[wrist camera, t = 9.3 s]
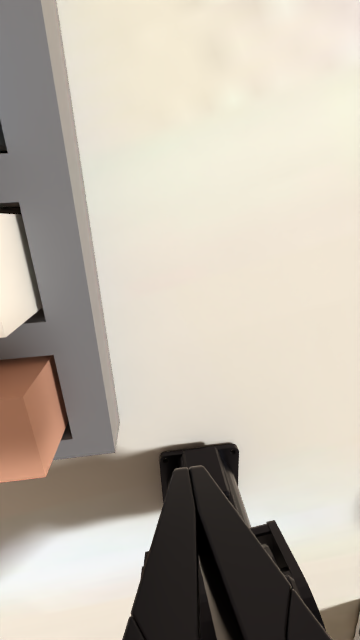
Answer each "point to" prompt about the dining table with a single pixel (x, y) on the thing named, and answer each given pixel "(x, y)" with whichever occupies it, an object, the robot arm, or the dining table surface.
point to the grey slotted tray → (54, 225)
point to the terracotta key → (29, 417)
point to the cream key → (16, 276)
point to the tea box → (357, 630)
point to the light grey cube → (2, 140)
